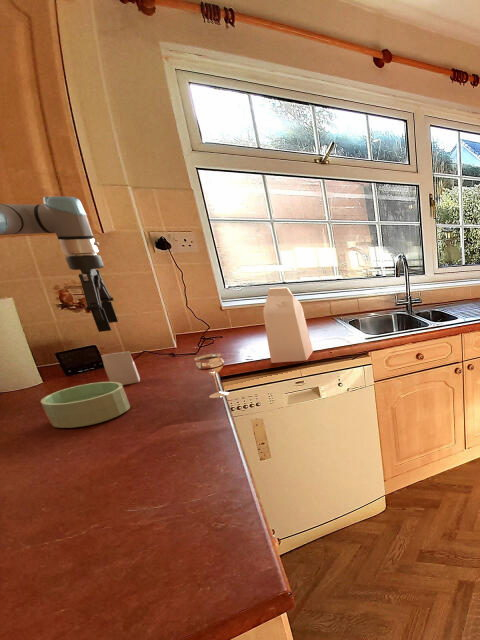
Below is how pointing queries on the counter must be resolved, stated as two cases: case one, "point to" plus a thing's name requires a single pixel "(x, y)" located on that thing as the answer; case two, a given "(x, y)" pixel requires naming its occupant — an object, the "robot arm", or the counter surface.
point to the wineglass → (211, 369)
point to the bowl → (85, 404)
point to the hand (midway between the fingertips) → (109, 326)
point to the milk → (286, 327)
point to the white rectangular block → (120, 368)
